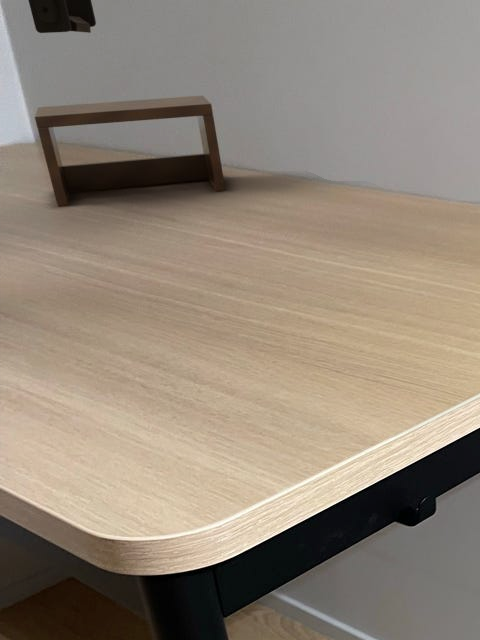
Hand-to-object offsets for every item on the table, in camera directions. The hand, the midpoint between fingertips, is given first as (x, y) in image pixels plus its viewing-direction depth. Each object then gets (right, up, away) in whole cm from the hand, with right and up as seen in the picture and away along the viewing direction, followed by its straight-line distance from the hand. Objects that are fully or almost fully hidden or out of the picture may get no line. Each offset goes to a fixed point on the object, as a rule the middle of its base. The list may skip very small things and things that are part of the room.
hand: (67, 27), depth 95 cm
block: (0, -1, +1) cm, 1 cm away
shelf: (-3, -2, +30) cm, 31 cm away
